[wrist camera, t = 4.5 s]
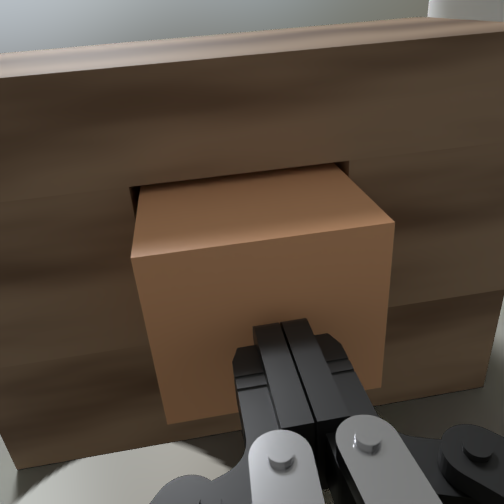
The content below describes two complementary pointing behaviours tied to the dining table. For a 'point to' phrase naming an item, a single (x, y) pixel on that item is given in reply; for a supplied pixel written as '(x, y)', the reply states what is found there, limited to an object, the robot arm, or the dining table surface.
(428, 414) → the dining table surface
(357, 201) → the light brown block
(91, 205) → the wooden box
